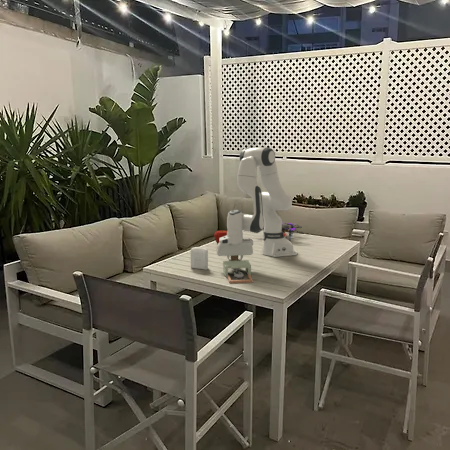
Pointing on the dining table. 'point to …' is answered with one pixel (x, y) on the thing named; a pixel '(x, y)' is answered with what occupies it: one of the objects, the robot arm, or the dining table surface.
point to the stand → (236, 266)
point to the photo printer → (199, 258)
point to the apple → (219, 235)
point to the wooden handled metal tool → (235, 258)
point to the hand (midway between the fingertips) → (234, 262)
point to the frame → (240, 280)
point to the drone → (286, 228)
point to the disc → (238, 275)
